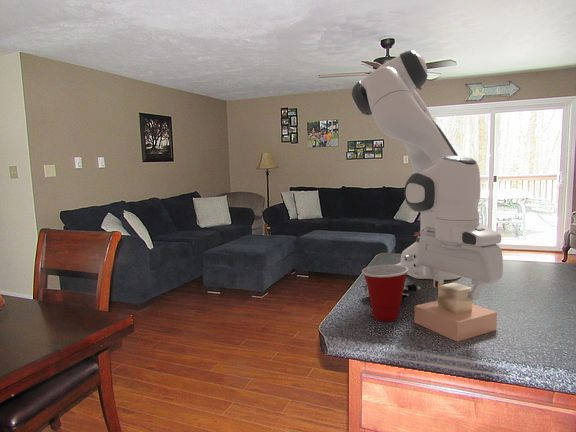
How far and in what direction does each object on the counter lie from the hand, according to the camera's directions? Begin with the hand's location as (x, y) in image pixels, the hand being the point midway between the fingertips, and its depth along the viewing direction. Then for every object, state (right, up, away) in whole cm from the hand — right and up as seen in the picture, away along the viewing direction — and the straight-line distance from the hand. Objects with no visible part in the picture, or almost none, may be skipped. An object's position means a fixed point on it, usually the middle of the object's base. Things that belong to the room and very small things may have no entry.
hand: (455, 293), depth 91 cm
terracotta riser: (0, -8, +1) cm, 8 cm away
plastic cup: (-14, -7, +7) cm, 17 cm away
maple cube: (0, -4, 0) cm, 4 cm away
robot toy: (-9, -6, +22) cm, 24 cm away
